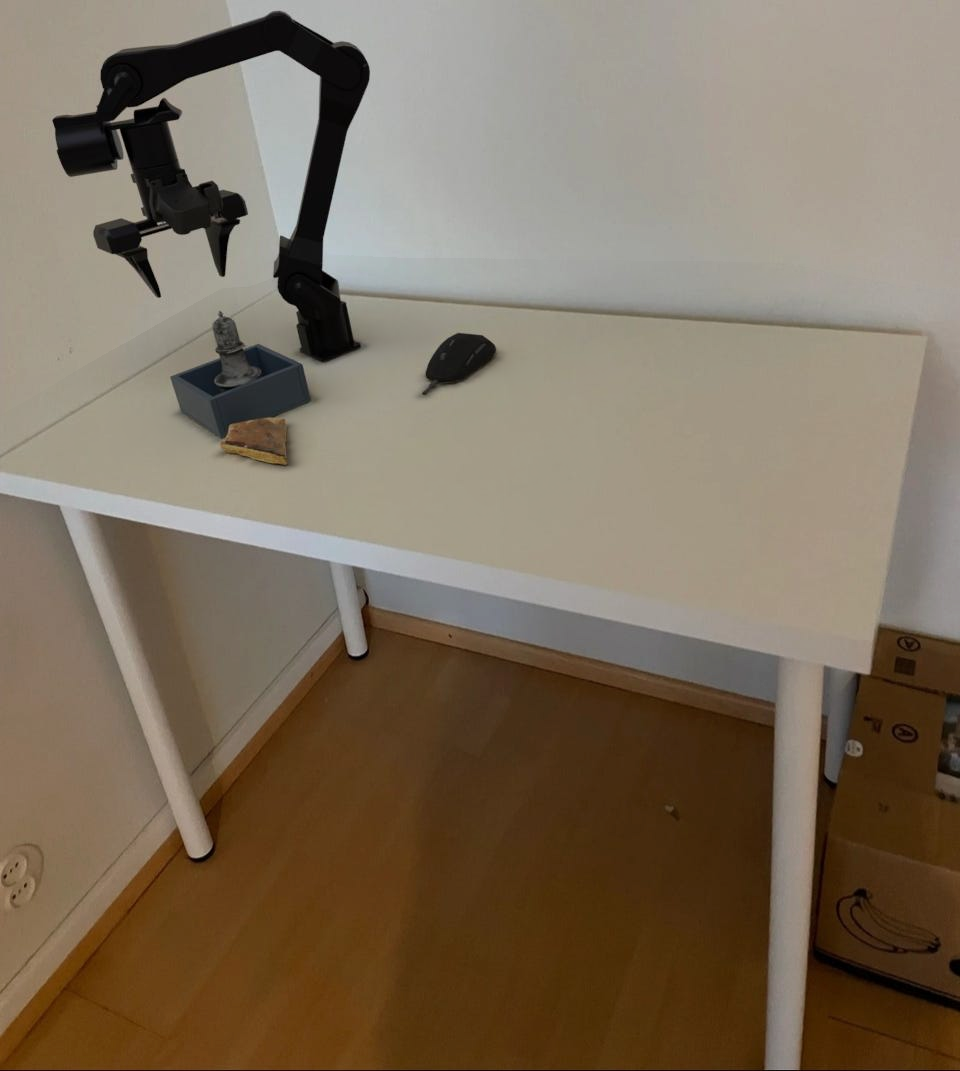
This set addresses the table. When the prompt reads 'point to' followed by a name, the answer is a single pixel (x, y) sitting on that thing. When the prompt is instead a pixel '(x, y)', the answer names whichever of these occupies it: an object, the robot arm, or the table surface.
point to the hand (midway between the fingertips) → (191, 286)
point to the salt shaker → (231, 356)
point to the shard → (258, 439)
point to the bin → (241, 391)
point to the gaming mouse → (458, 358)
